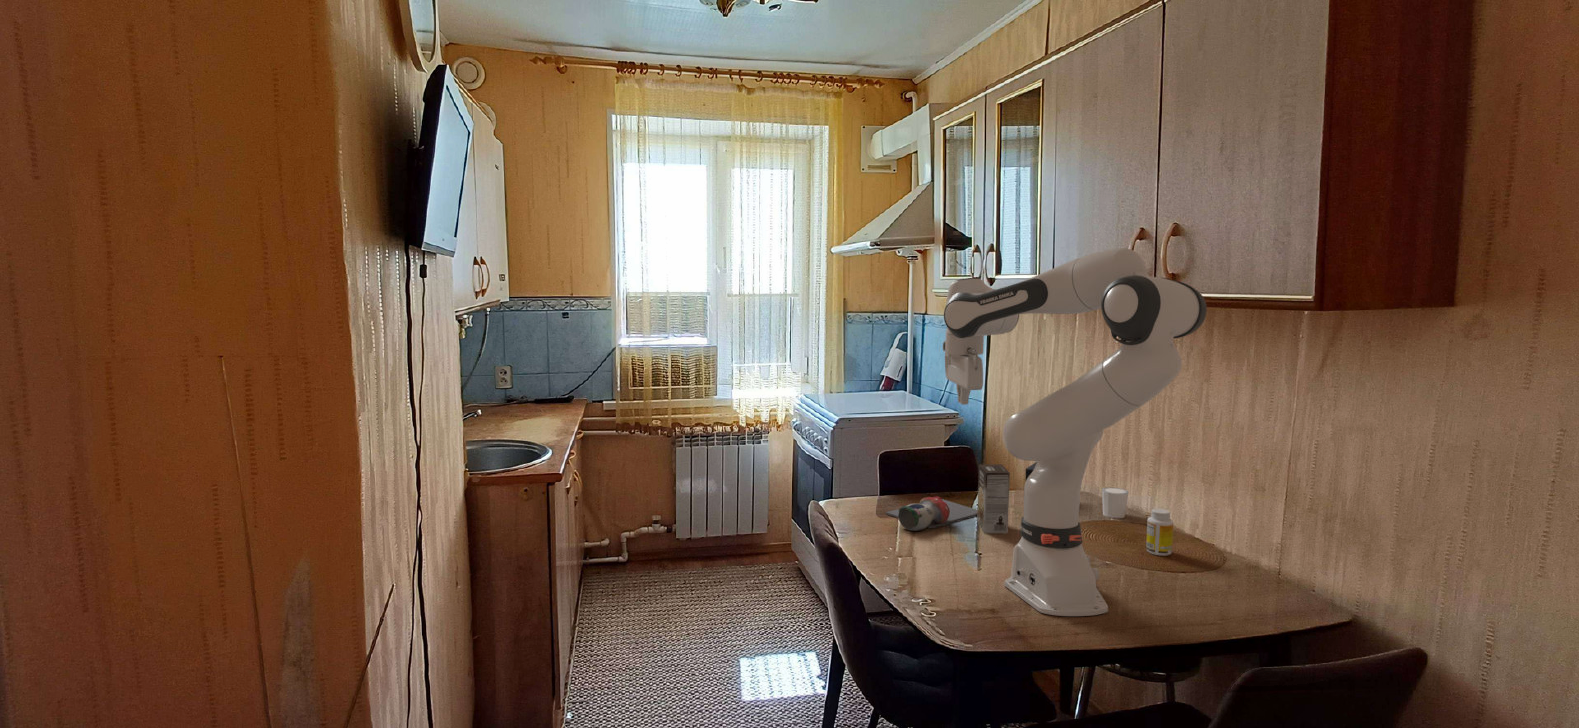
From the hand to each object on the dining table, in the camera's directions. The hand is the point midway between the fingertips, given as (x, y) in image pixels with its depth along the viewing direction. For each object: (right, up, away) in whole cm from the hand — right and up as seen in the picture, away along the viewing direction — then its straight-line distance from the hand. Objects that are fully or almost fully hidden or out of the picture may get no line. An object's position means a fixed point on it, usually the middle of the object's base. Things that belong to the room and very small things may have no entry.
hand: (963, 403), depth 185 cm
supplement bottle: (+46, -36, -2) cm, 59 cm away
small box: (+32, -31, +41) cm, 61 cm away
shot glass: (+48, -32, +27) cm, 64 cm away
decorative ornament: (-12, -31, +14) cm, 35 cm away
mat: (-2, -32, +28) cm, 43 cm away
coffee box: (+11, -34, +16) cm, 39 cm away
